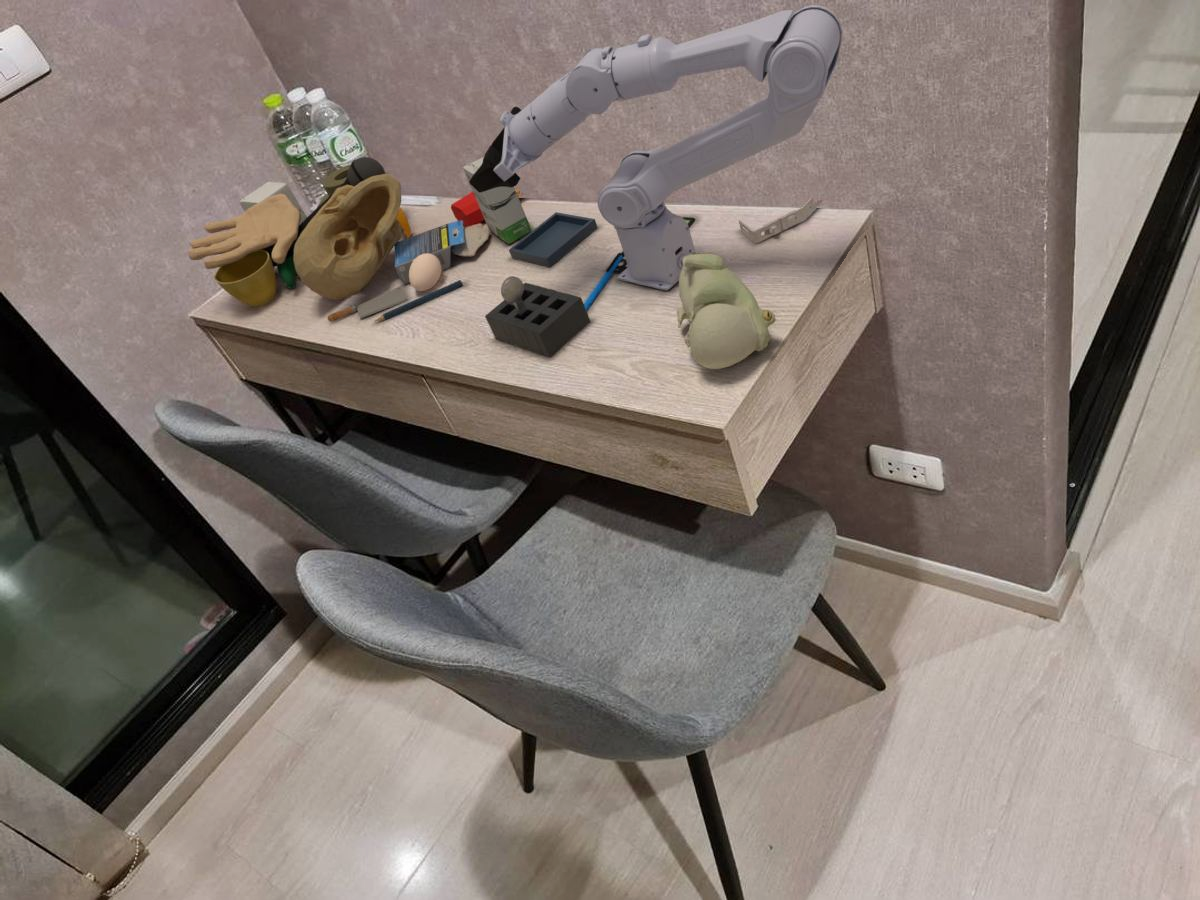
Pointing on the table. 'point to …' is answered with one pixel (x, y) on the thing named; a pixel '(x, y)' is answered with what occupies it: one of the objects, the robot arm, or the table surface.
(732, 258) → the table surface
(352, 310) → the cleaver
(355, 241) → the ear model
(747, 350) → the figurine
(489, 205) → the ink box
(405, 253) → the label tape box
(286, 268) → the gaming controller
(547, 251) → the tray
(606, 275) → the pen
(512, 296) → the spoon
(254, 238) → the hand model
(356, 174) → the microphone
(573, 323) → the rack
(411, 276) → the egg
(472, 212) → the french fries
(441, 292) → the pencil
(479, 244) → the artifact
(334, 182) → the flange
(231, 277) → the flower pot
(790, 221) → the bracket
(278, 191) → the white packaging box
